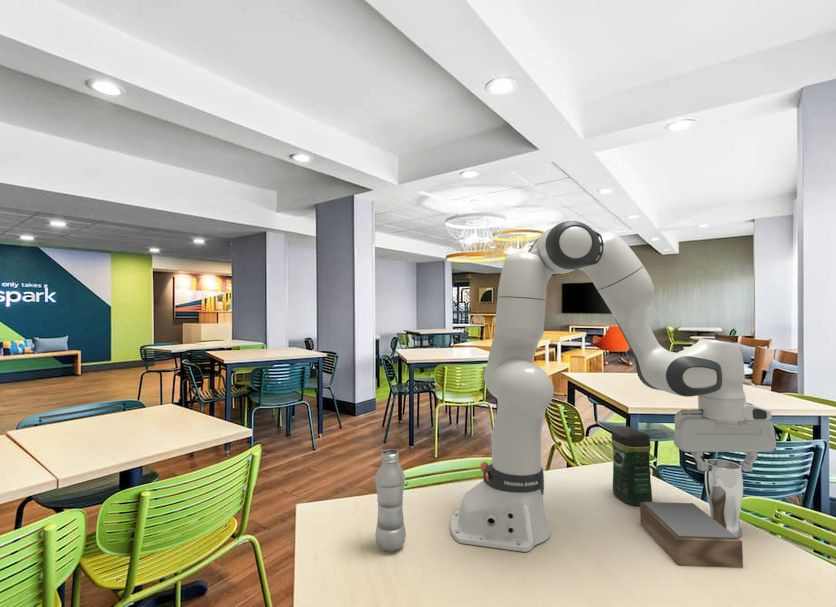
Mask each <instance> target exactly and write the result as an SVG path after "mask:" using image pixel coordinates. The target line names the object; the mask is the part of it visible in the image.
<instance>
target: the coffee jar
mask: <svg viewBox="0 0 836 607" xmlns="http://www.w3.org/2000/svg"><path fill="white" fill-rule="evenodd" d="M611 446H612V453H613V454H612V455H613V457H612V458H613V460H612V463H613V464H612V468H613V470H612V493H613V494H614V496H616V497H617V498H618V499H620V500H622V502H624V503H626V504H629V505H637V506H640V503H643V502H653V493H652V492H653V491H652V490H653V489H652V481H651V466H650V453H651V450H652V449H651V448H652V446H651V437H650V435H649V434H647V433H645V432H642V431H640V430H637V429H635V428H633V427H630V426H629V425H627V426H626V425H622V426H621V425H619V426H614V428H613V429H612V430H611Z"/></svg>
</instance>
